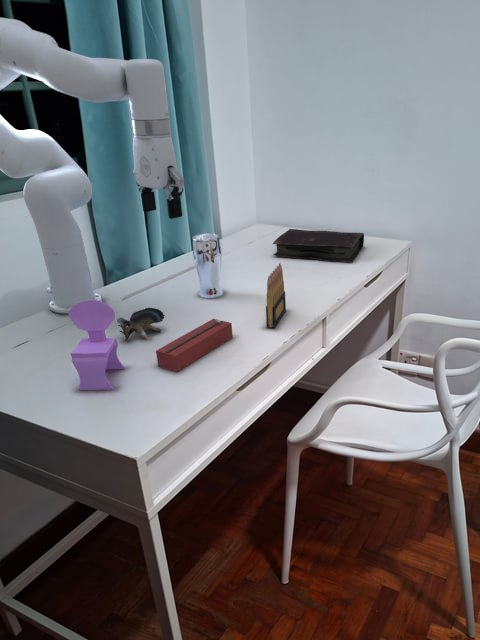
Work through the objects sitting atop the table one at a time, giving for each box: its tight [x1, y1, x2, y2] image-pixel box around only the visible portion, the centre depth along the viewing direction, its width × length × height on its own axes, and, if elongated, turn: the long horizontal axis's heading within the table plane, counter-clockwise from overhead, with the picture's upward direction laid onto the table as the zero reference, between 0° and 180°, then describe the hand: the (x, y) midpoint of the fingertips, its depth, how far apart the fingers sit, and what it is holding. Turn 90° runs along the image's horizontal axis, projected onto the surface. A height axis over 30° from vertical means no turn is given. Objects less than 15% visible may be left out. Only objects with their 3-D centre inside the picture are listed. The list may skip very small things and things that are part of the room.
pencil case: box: [155, 318, 234, 373], centre depth 111 cm, size 5×18×4 cm, turn 149°
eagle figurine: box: [115, 307, 166, 342], centre depth 118 cm, size 8×7×9 cm
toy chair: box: [68, 299, 126, 391], centre depth 99 cm, size 8×9×15 cm
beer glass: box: [191, 232, 224, 299], centre depth 137 cm, size 7×7×15 cm
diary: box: [272, 228, 365, 263], centre depth 170 cm, size 19×25×5 cm
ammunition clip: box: [265, 262, 287, 330], centre depth 123 cm, size 11×2×12 cm, turn 166°
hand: (162, 214), depth 120 cm, fingers open, 9 cm apart
